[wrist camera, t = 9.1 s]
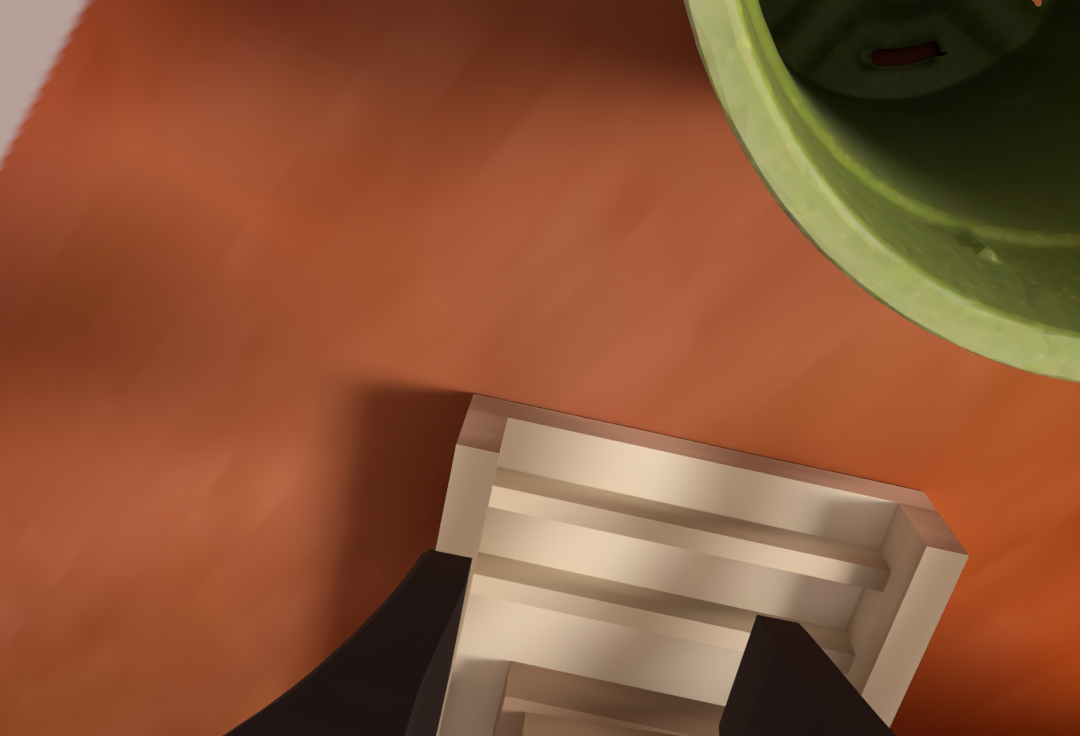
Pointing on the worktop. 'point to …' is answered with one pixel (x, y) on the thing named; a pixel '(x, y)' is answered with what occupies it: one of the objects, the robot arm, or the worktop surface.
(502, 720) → the offcut lower
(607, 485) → the rack
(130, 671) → the worktop surface
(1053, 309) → the plant pot
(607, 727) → the offcut upper
